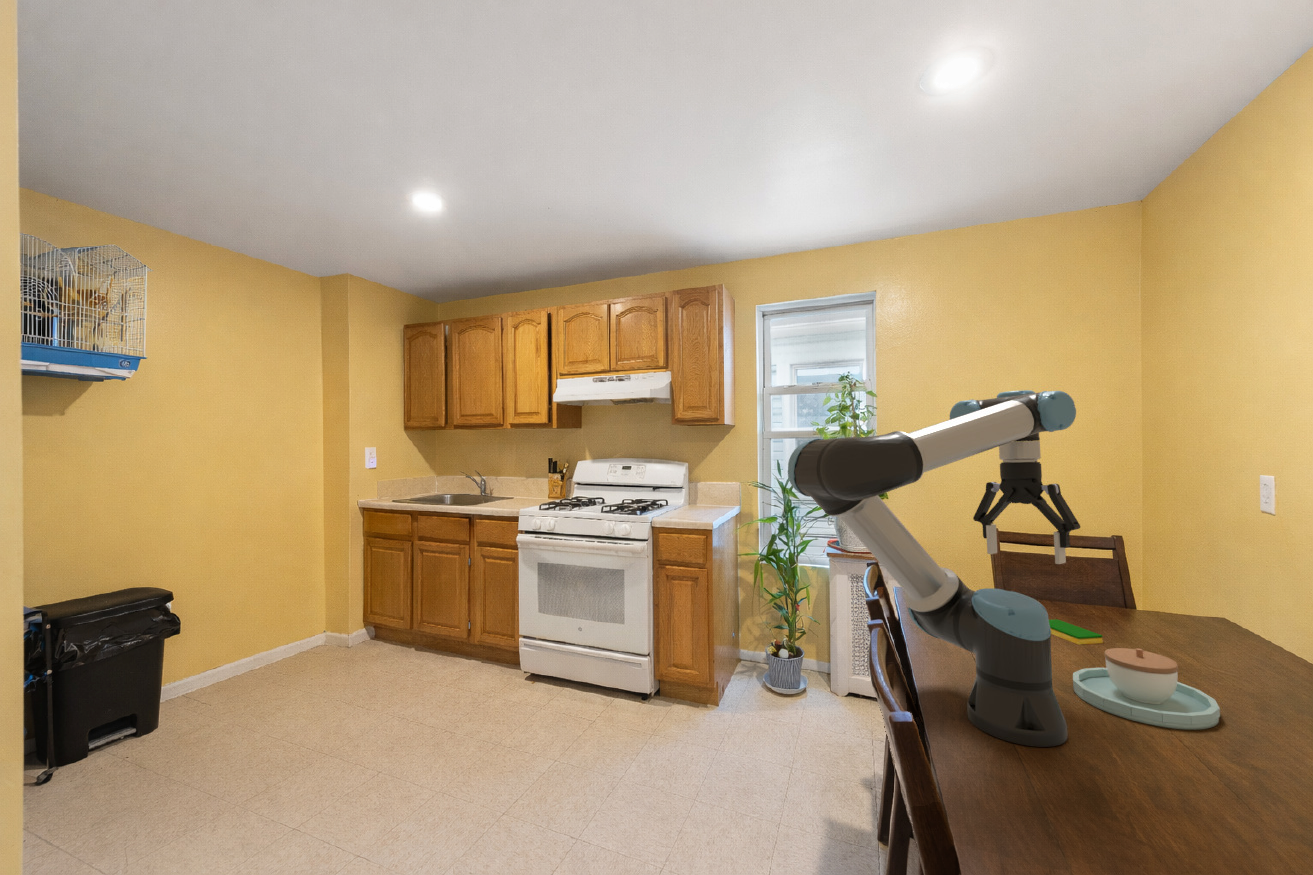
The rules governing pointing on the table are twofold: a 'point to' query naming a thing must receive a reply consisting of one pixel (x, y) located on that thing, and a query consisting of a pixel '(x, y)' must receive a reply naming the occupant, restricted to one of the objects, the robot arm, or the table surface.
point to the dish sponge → (1074, 633)
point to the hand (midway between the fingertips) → (1024, 558)
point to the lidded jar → (1142, 674)
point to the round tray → (1176, 712)
